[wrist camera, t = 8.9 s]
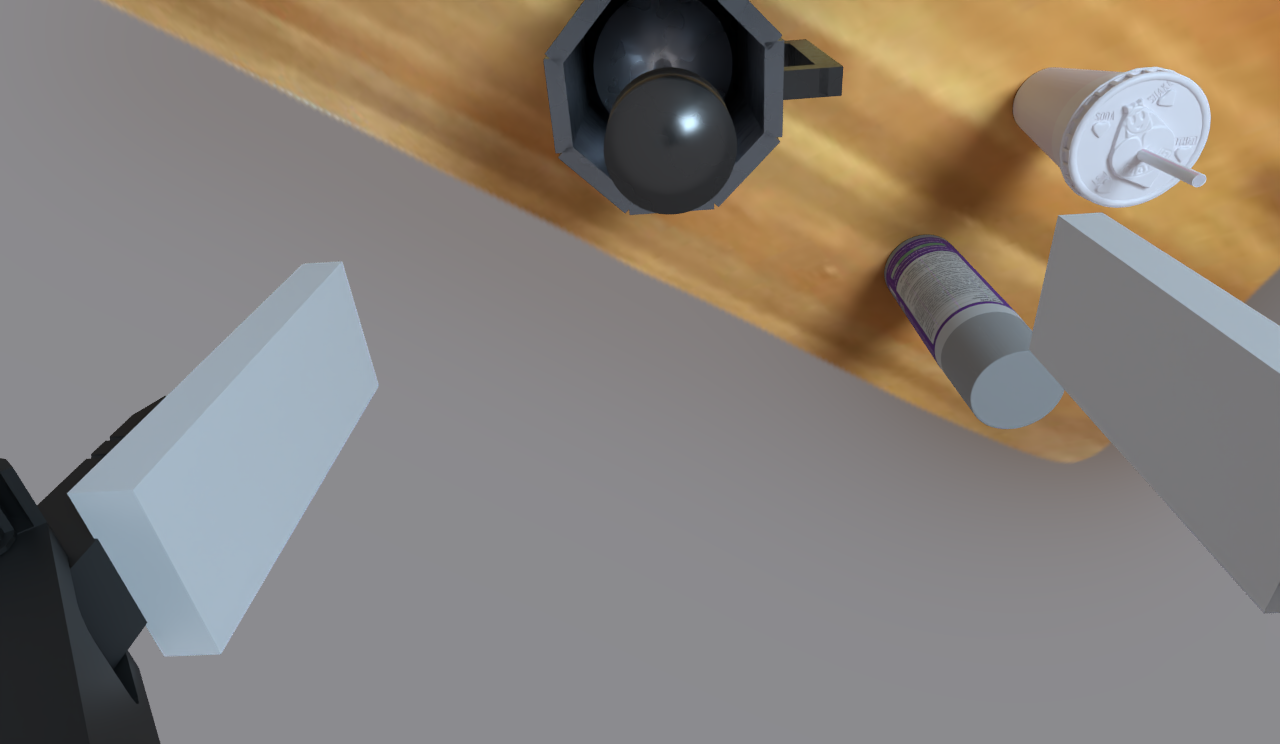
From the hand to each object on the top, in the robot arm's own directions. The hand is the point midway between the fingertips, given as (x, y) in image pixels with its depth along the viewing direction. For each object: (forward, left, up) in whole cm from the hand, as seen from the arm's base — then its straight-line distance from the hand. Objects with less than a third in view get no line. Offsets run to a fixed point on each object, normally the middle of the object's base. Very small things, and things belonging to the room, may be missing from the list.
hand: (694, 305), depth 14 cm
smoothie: (+4, +22, -33) cm, 40 cm away
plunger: (0, 0, -29) cm, 29 cm away
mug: (0, +1, -33) cm, 33 cm away
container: (+14, +16, -33) cm, 39 cm away
